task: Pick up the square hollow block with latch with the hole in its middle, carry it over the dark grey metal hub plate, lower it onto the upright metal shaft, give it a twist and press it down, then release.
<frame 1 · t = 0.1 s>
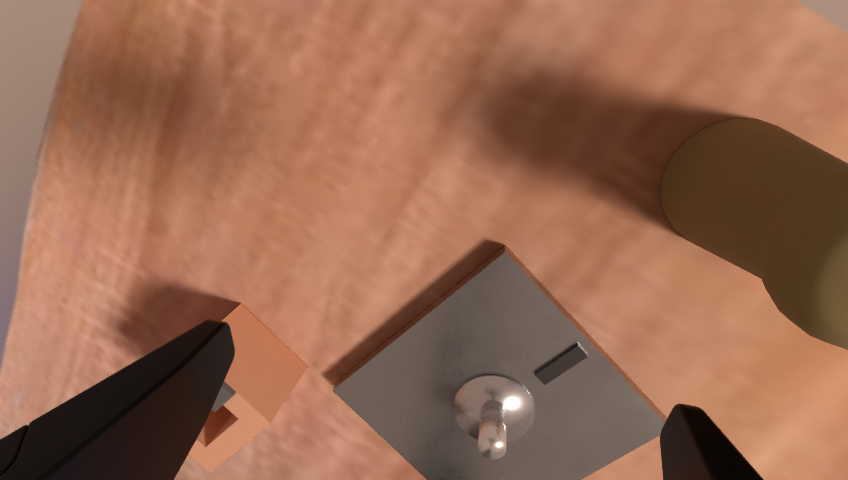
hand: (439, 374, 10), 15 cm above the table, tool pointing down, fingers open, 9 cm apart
hub: (494, 397, 28), on the table
cork: (729, 185, 23), on the table
hollow block with latch: (247, 360, 30), on the table
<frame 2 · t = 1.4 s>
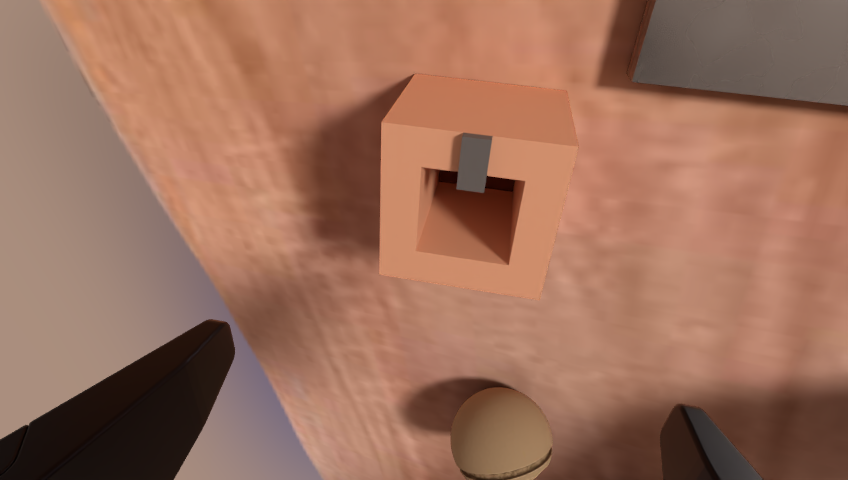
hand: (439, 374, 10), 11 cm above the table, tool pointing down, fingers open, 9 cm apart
hollow block with latch: (480, 152, 19), on the table
beige rounded piece: (503, 395, 27), on the table
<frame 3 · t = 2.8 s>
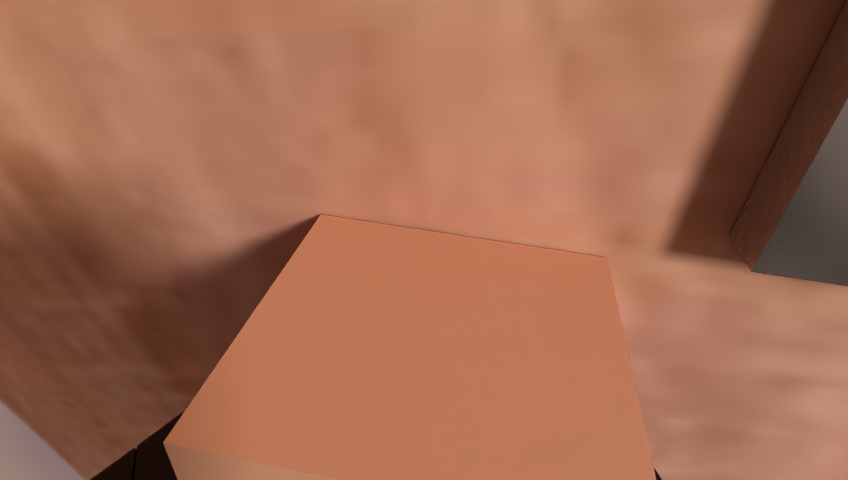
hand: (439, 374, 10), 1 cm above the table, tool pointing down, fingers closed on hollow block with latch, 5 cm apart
hollow block with latch: (446, 338, 11), on the table, touching gripper
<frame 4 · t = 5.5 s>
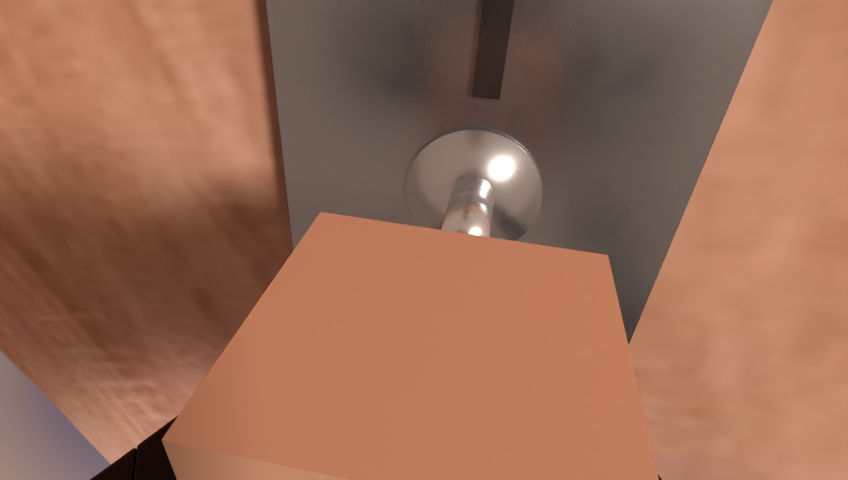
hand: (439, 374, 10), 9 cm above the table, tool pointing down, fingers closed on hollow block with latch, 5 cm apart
hub: (475, 179, 17), on the table
hollow block with latch: (446, 336, 11), point 8 cm above the table, touching gripper
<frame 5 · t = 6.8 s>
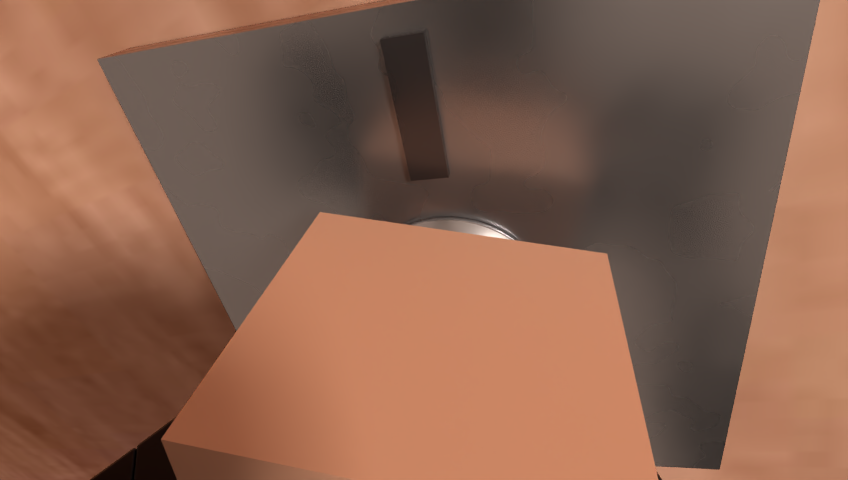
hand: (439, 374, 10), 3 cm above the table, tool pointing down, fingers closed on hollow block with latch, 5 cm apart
hub: (459, 269, 13), on the table
hollow block with latch: (446, 335, 11), point 2 cm above the table, touching gripper
when the fingers open (3 cm above the table, at t = 8.1 s): hollow block with latch stays where it is, resting on hub.
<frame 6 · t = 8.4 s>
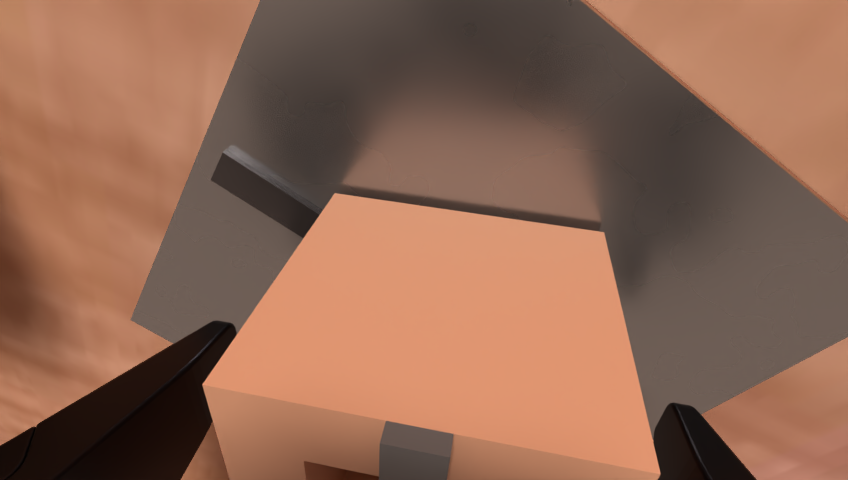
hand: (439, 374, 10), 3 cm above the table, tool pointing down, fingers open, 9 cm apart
hub: (456, 282, 12), on the table
hollow block with latch: (452, 312, 11), point 1 cm above the table, touching hub
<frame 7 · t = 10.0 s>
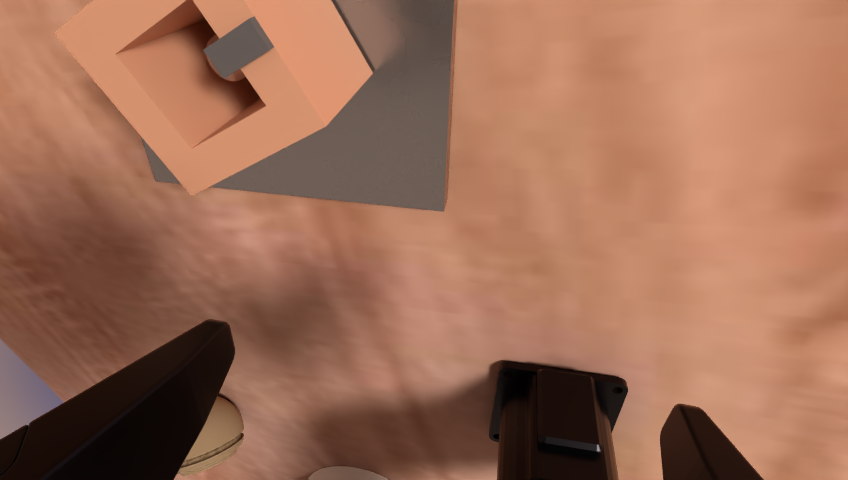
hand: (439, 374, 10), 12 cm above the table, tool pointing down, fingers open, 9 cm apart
hub: (281, 29, 18), on the table
hollow block with latch: (269, 37, 17), point 1 cm above the table, touching hub
beige rounded piece: (222, 400, 33), on the table
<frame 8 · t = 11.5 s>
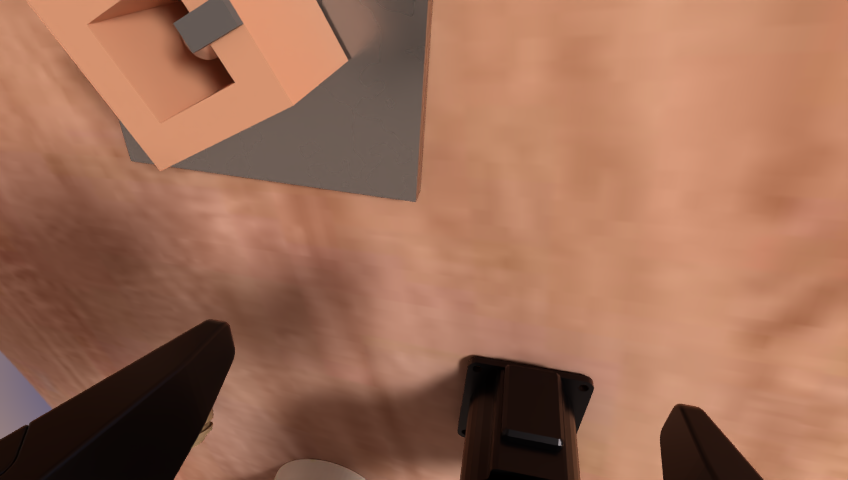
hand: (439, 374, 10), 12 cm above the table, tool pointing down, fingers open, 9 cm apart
hub: (260, 14, 19), on the table
hollow block with latch: (247, 20, 18), point 1 cm above the table, touching hub
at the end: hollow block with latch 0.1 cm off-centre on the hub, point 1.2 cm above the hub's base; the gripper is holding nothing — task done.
